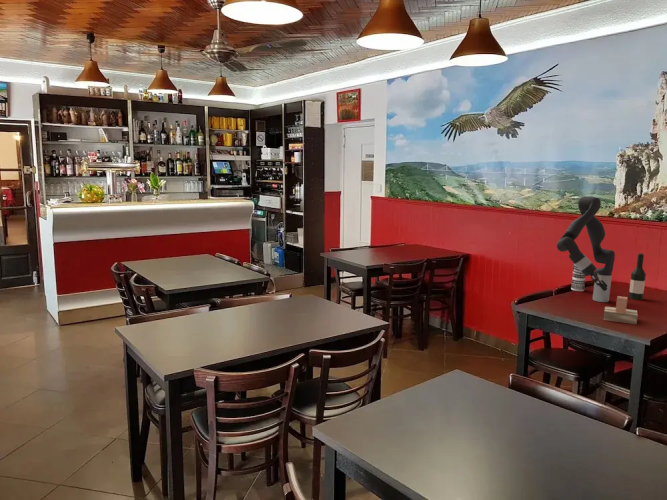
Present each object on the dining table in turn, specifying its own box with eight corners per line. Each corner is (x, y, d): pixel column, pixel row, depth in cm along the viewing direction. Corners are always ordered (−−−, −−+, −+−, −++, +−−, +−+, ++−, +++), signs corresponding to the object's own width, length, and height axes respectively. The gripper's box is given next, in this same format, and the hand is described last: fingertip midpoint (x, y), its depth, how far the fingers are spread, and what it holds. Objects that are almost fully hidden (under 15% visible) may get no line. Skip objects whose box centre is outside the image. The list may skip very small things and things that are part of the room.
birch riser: (604, 314, 298) (605, 306, 297) (636, 319, 290) (637, 310, 290) (603, 319, 288) (604, 311, 287) (636, 324, 280) (637, 315, 279)
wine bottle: (637, 300, 332) (643, 254, 328) (625, 297, 340) (630, 252, 335) (645, 299, 336) (651, 254, 331) (633, 296, 343) (638, 252, 339)
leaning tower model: (582, 292, 352) (586, 256, 348) (568, 289, 359) (571, 254, 355) (586, 289, 359) (590, 254, 355) (573, 287, 365) (576, 252, 361)
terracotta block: (615, 309, 290) (617, 295, 289) (625, 311, 288) (627, 297, 286) (615, 311, 286) (617, 297, 285) (625, 313, 284) (627, 299, 282)
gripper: (590, 264, 285) (611, 287, 281) (591, 260, 297) (612, 282, 293) (579, 272, 288) (599, 295, 284) (580, 268, 300) (600, 290, 297)
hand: (606, 288), depth 289 cm, fingers open, 8 cm apart
